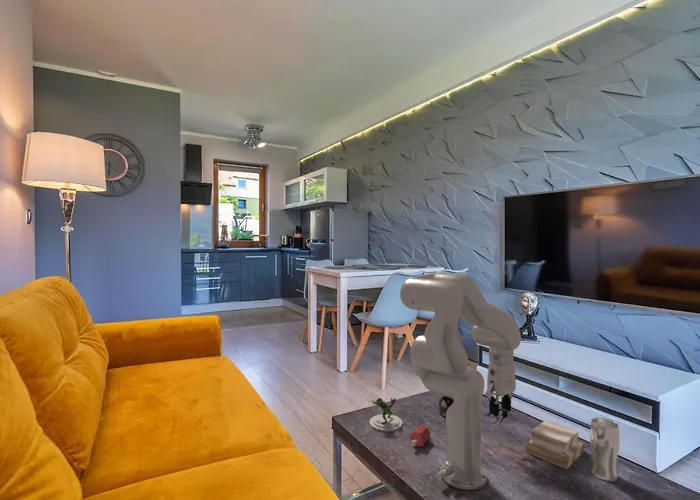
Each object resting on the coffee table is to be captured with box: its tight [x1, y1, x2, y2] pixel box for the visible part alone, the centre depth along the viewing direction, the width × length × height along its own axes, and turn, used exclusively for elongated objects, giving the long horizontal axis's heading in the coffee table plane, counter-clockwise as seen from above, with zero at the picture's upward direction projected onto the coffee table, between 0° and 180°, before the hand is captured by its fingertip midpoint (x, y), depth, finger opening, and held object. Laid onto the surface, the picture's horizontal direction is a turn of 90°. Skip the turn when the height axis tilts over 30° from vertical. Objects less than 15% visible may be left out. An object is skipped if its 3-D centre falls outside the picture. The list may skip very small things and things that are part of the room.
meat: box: [410, 425, 431, 448], centre depth 128 cm, size 12×5×5 cm, turn 145°
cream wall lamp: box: [525, 420, 585, 470], centre depth 121 cm, size 14×12×7 cm
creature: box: [483, 403, 509, 425], centre depth 127 cm, size 8×5×8 cm
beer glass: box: [589, 417, 621, 482], centre depth 109 cm, size 7×7×15 cm
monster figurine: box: [369, 397, 403, 433], centre depth 141 cm, size 12×12×10 cm
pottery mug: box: [438, 395, 454, 415], centre depth 150 cm, size 12×10×8 cm
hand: (500, 411), depth 127 cm, fingers closed on creature, 6 cm apart
